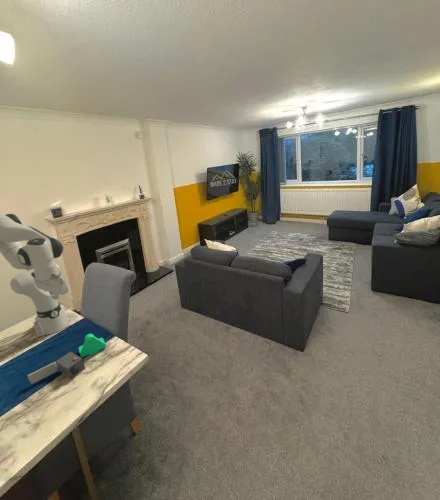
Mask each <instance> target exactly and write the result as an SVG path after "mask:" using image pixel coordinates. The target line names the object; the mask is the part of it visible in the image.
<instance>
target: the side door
mask: <svg viewBox="0 0 440 500" xmlns="http://www.w3.org/2000/svg"><path fill="white" fill-rule="evenodd" d="M58 371H59V368H58V365H57V363H56V361H53V362H51V363H49V364H48V365H46V366H43V367H41V368H39V369H37V370H36V371H35V370H34V372H31V373H29V374H27V380H28V381H29V382H30V384H31V385H33V384H35V383H37V382H39V381H41V380H43V379H45V378H46V377H48V376H50V375H52V374H54V373H56V372H58Z"/></svg>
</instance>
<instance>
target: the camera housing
mask: <svg viewBox="0 0 440 500" xmlns="http://www.w3.org/2000/svg"><path fill="white" fill-rule="evenodd" d="M55 362H56V365H57V367H58V371H59V372H60V373H61V374H63V375H64V376H66V377H67V378H69V379H70V380H72V379H73V378H75V377H76V376H77V375H79V374H81V373H82V371H84V370H85V369H86V367H85V363H84V361H83V357H82V358H81V356H79V355H77V354H75V353H74V352H72V351H69V352H68V353H67V354H64V355H63V356H62V357H60V358H58V359H57V360H56V361H55Z"/></svg>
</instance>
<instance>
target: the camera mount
mask: <svg viewBox="0 0 440 500" xmlns="http://www.w3.org/2000/svg"><path fill="white" fill-rule="evenodd" d="M106 347H107V345H106V341H105V339H104V338H103V337H100V338H98V337H96V336H95V334H93V333H88V334H86V335H85V336H84V343H83V344H82V345H81V346H79V347H78V352H79V355H80V358H82V359H83V358H85V357H86V356H92V355H94V354H97V353H99V352H100V350H103V349H105V348H106Z"/></svg>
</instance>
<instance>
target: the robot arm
mask: <svg viewBox="0 0 440 500" xmlns="http://www.w3.org/2000/svg"><path fill="white" fill-rule="evenodd" d="M22 242H26V243H25V244H23V243H22ZM63 252H64V246H63V244H62V242H61V241H60V240H58V238H57V239H56V238H54V237H52V236H49V235H47V234H46V233H44V232H42V231H40V230H38V229H36V228H34V227H33V226H30V225H25V224H23V222H22V220H21V219H20V218H19V216H17V215H16V214H14V213H6V214H4V213H1V212H0V254H1V255H2V256H3V258H4V259H6V261H7V262H8V263H9V264H10V265H11V267H12V268H13V269H16V270H26V271H23V272H21V273H19V274H18V275H16V276H14V277H12V278H11V279H10V282H9V285H10V288H11V290H12V291H13V292H14V293H16V294H17V295H23V296H27V297H28V298H30V299H31V301H32V302H33V305H34V306H35V309H36V312H35V313H36V316H35V318H34V320H35V321H34V322H33V325H32V328H33V330H34V331H35V333H36V335H37V336H38V337H42V336H45V335H46V336H47V335H53V334H56V333H57V332H60V331H62V330H64V329H65V328H66V327H67V326H68V325H69V322H70V321H71V320H72V318H71V317H69V316H68V314H67V312H66V311H65V309H64V308H62V306H61V304H60V302H59V300H60V296H63V295H65V294H67V293H68V292H69V287H68V284H67V282H66V281H65V280H66V279H64V277H62V276H61V275H62V269H61V267H60V266H59V265H58V264H57V263H56V262H55V260H54V259H58V258H60V257H61V256H62V254H63Z"/></svg>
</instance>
